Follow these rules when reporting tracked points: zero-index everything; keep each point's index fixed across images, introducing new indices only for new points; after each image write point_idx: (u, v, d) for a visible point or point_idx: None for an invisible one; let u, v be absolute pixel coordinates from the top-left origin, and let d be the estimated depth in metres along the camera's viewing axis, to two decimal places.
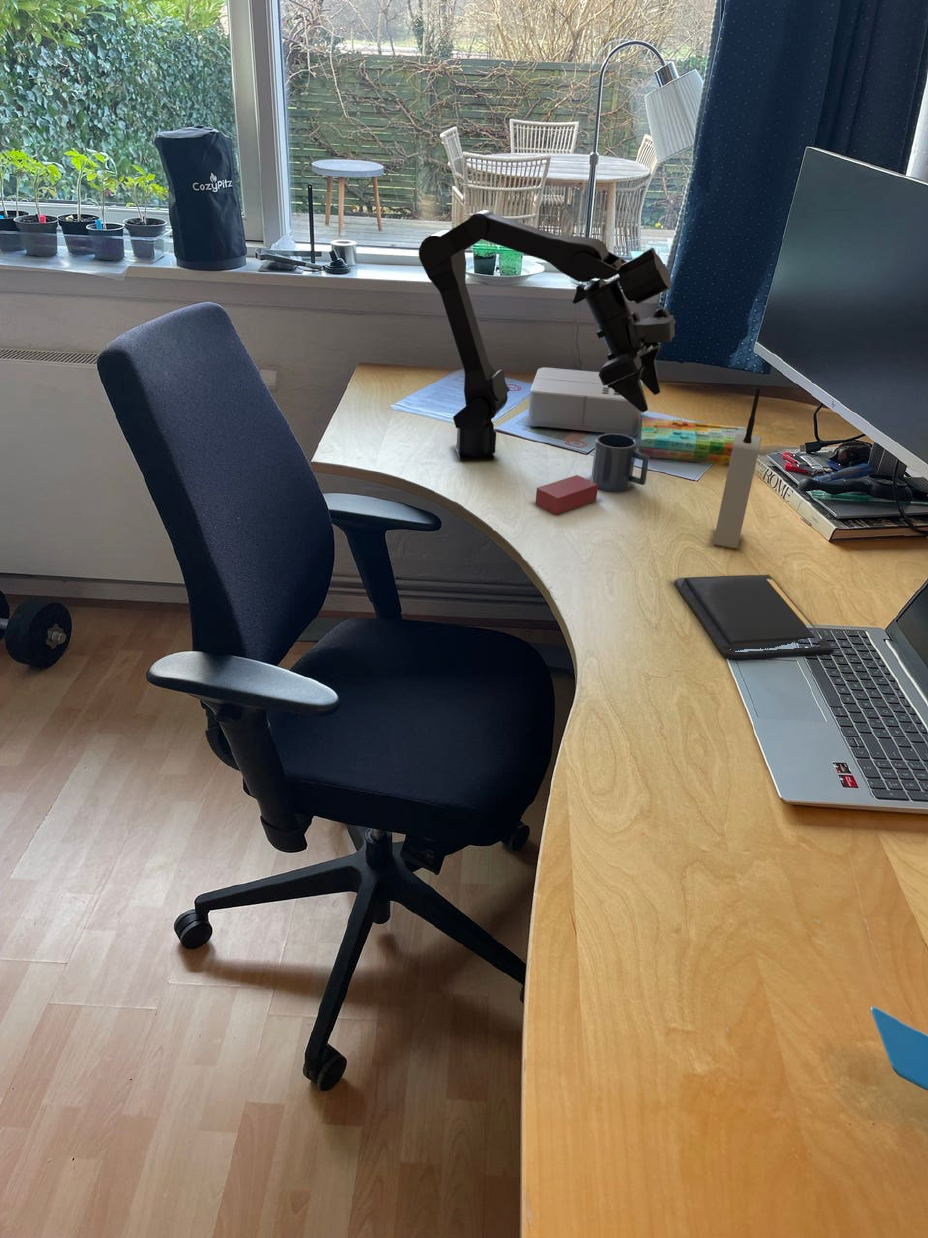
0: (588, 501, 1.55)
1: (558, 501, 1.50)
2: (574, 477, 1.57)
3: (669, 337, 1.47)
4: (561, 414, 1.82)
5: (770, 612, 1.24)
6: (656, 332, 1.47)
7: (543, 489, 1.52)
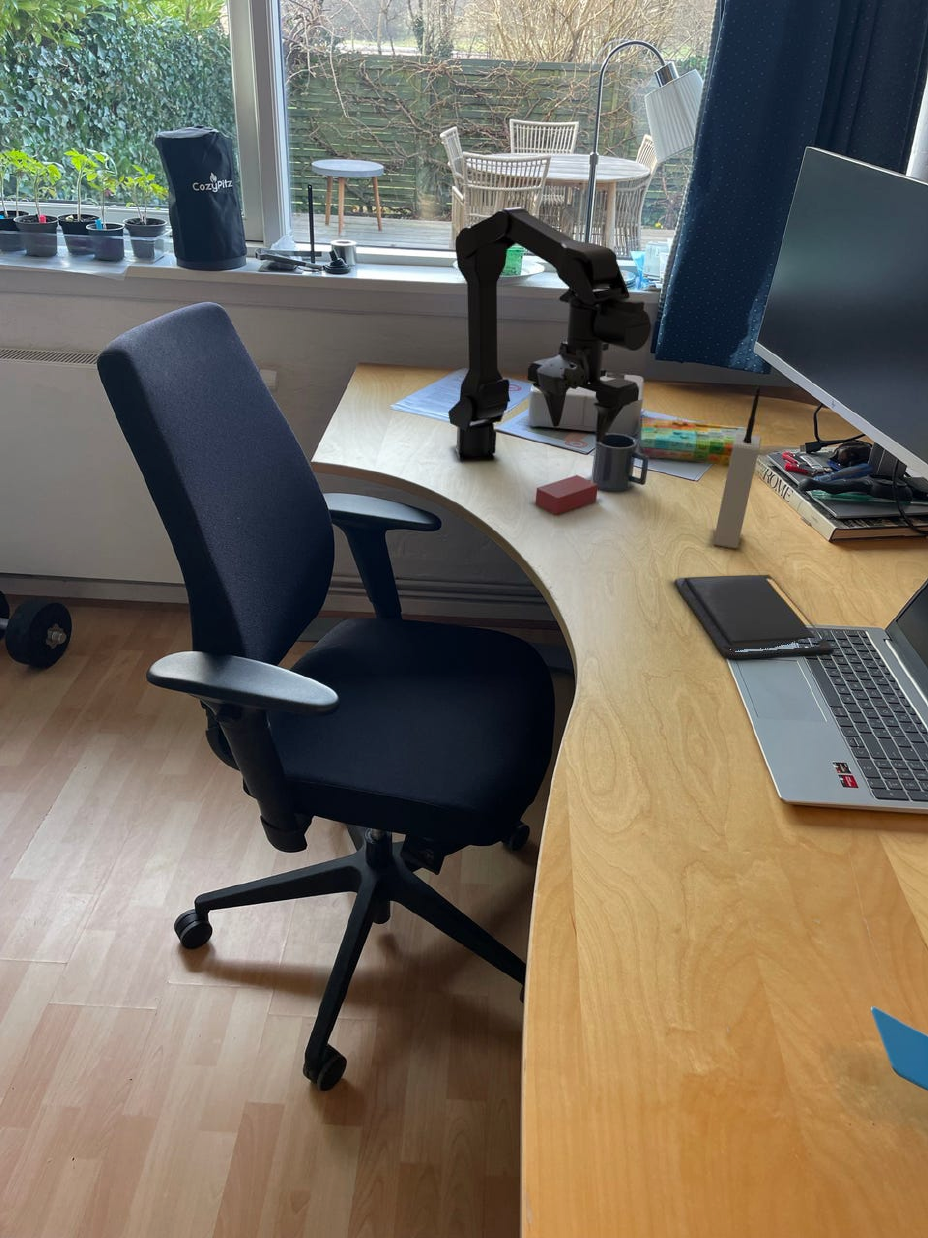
0: (588, 501, 1.55)
1: (558, 501, 1.50)
2: (574, 477, 1.57)
3: (540, 385, 1.41)
4: None
5: (770, 612, 1.24)
6: None
7: (543, 489, 1.52)
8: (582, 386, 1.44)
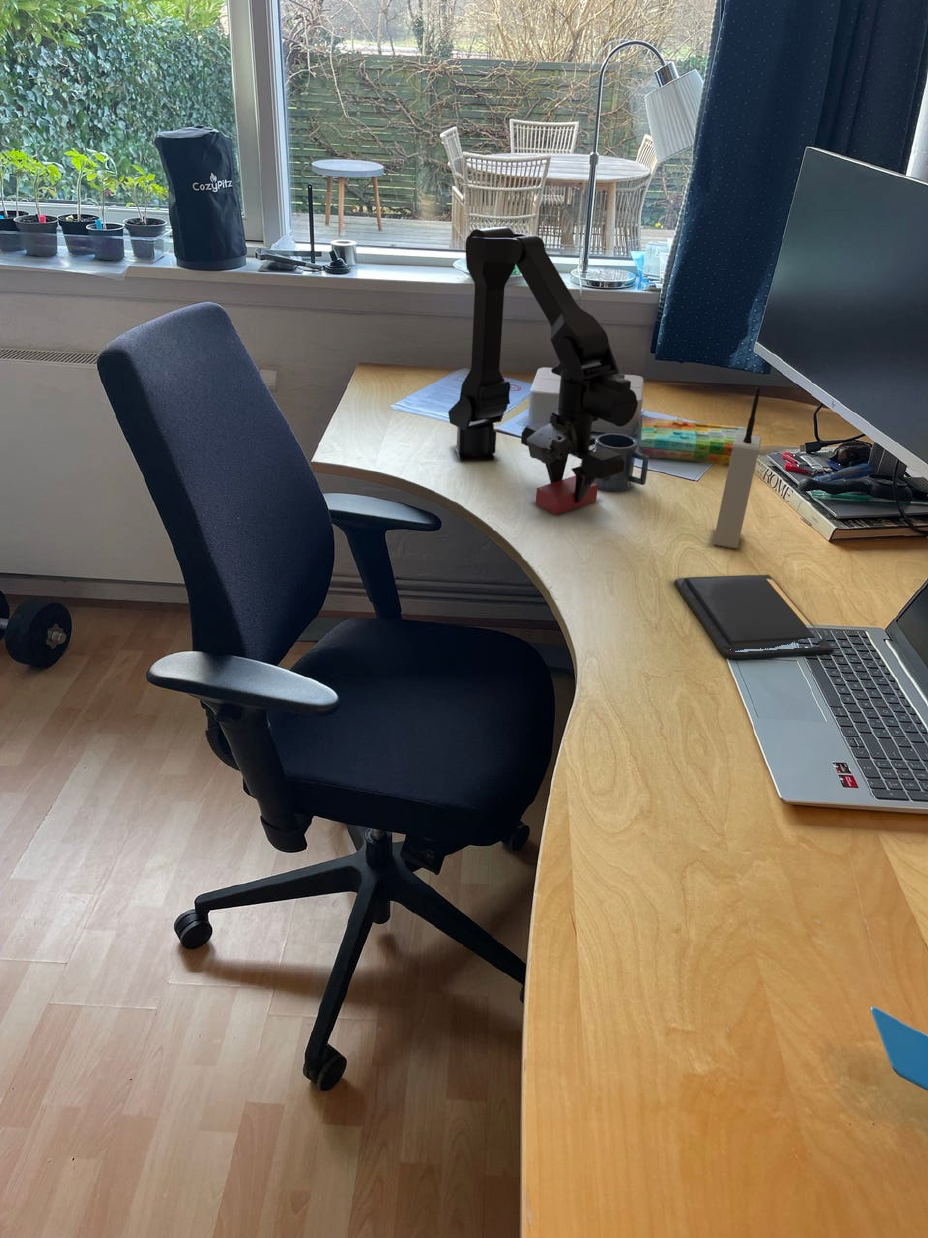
0: (588, 501, 1.55)
1: (558, 501, 1.50)
2: (574, 477, 1.57)
3: None
4: None
5: (770, 612, 1.24)
6: None
7: (543, 489, 1.52)
8: None
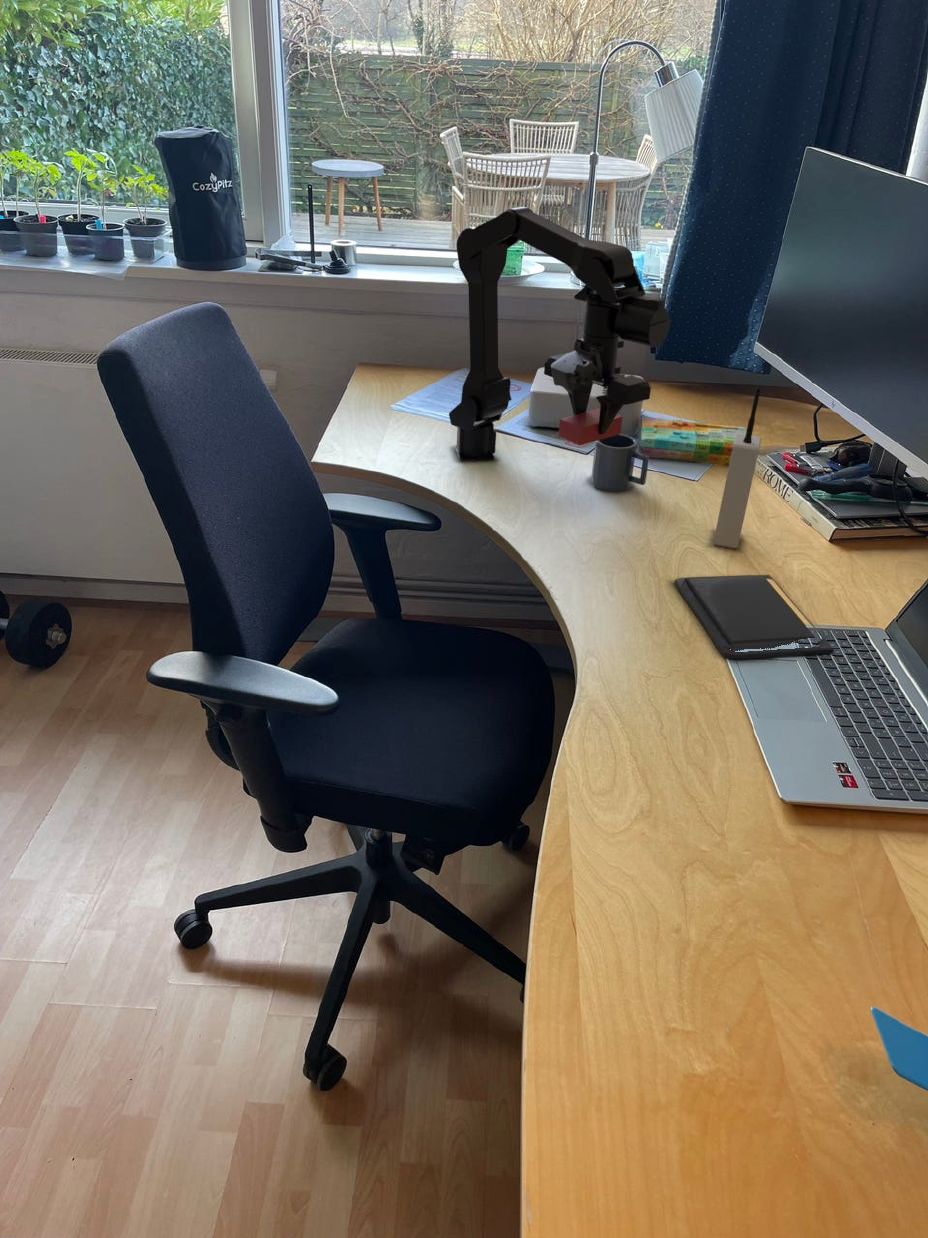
0: (612, 433, 1.52)
1: (582, 431, 1.47)
2: (598, 410, 1.54)
3: (553, 380, 1.44)
4: (561, 413, 1.82)
5: (770, 612, 1.24)
6: None
7: (566, 420, 1.49)
8: (596, 382, 1.47)
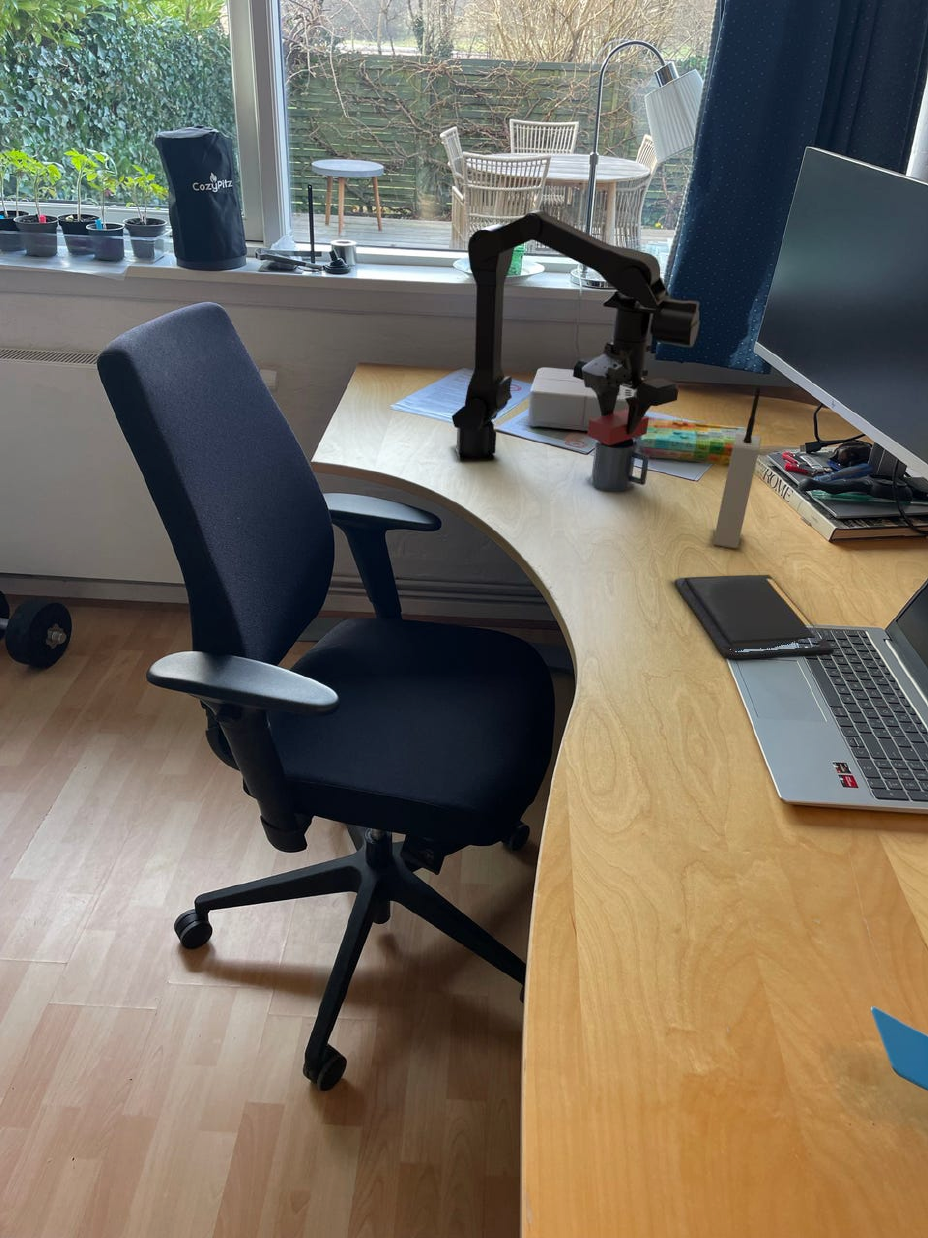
0: (639, 433, 1.57)
1: (611, 431, 1.52)
2: (624, 411, 1.59)
3: (584, 382, 1.50)
4: (561, 413, 1.82)
5: (770, 612, 1.24)
6: None
7: (595, 420, 1.55)
8: (624, 384, 1.52)
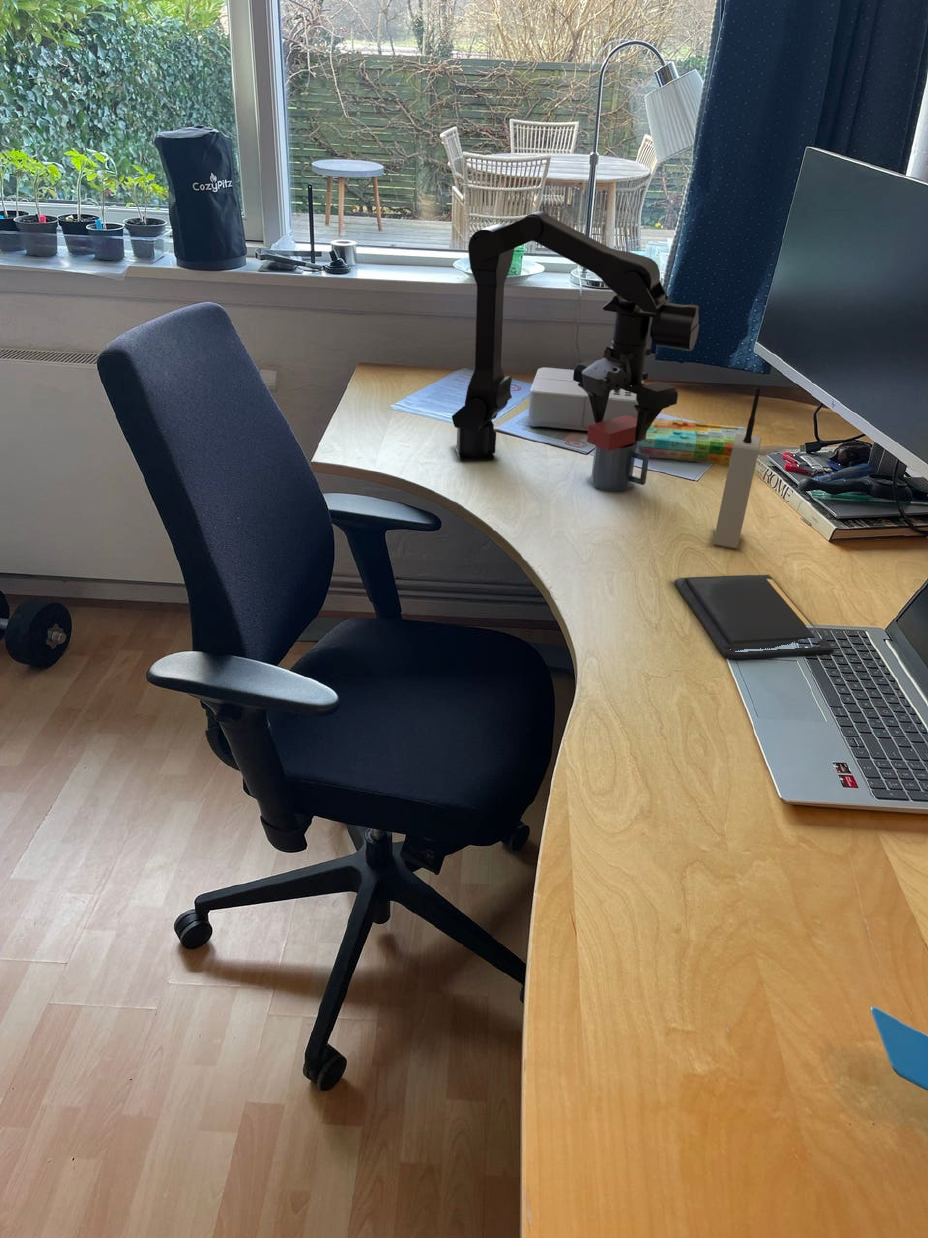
0: None
1: (610, 437, 1.53)
2: (624, 416, 1.60)
3: (584, 386, 1.50)
4: (561, 413, 1.82)
5: (770, 612, 1.24)
6: None
7: (595, 426, 1.55)
8: (624, 388, 1.53)
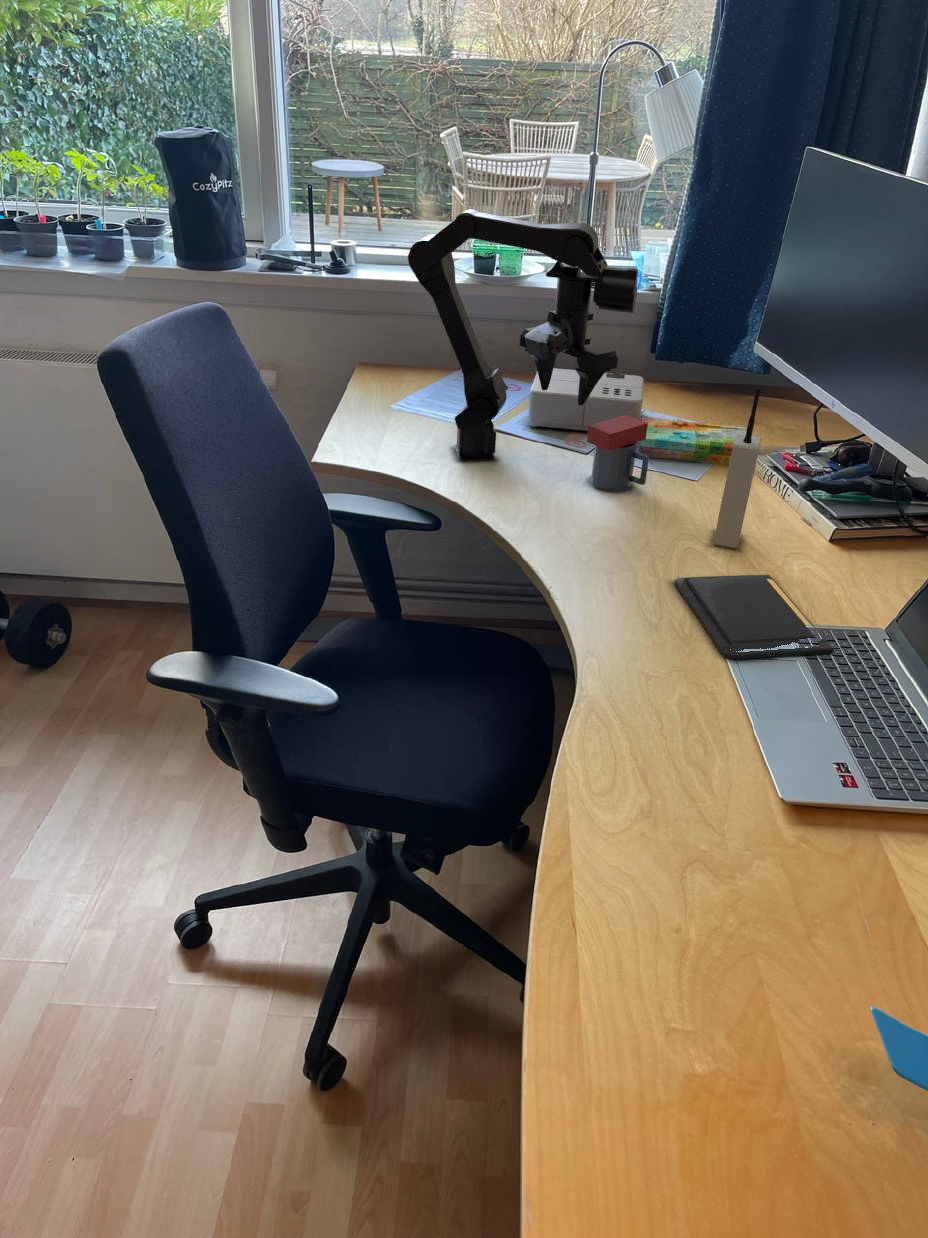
0: (638, 439, 1.58)
1: (610, 437, 1.53)
2: (624, 416, 1.60)
3: (527, 349, 1.54)
4: (561, 413, 1.82)
5: (770, 612, 1.24)
6: None
7: (595, 426, 1.55)
8: (567, 353, 1.57)
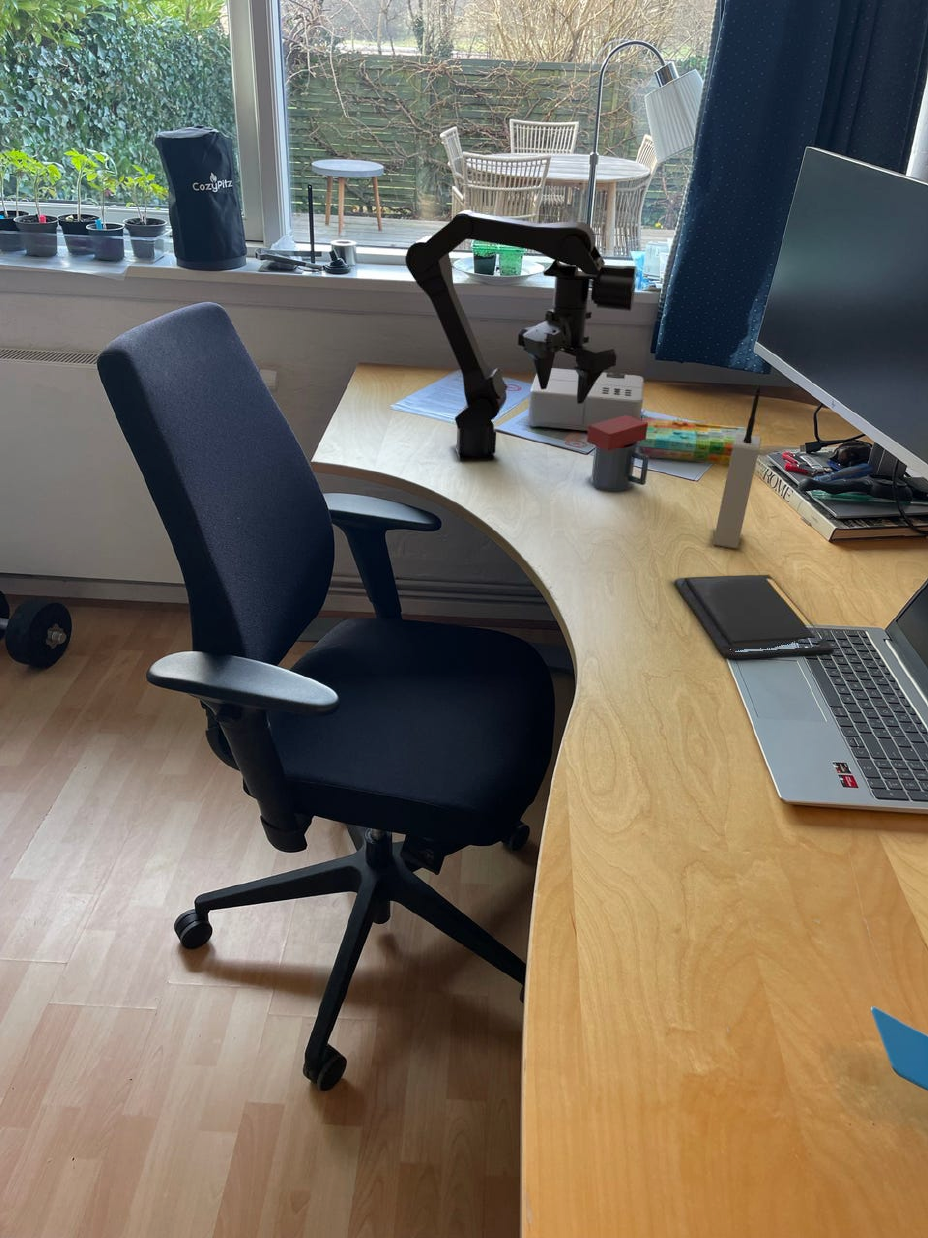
0: (638, 439, 1.58)
1: (610, 437, 1.53)
2: (624, 416, 1.60)
3: (526, 348, 1.54)
4: (561, 413, 1.82)
5: (770, 612, 1.24)
6: None
7: (595, 426, 1.55)
8: (566, 351, 1.57)
